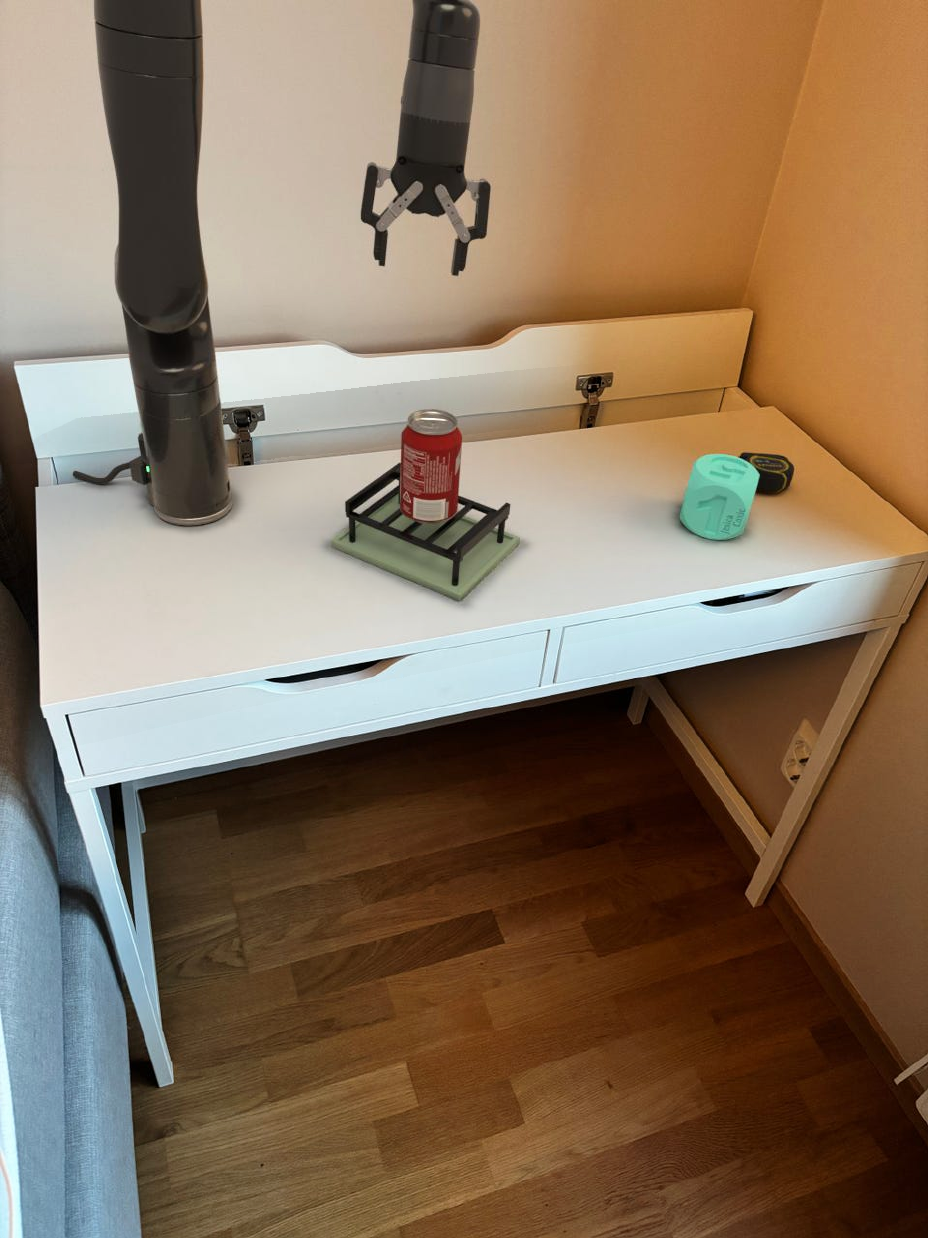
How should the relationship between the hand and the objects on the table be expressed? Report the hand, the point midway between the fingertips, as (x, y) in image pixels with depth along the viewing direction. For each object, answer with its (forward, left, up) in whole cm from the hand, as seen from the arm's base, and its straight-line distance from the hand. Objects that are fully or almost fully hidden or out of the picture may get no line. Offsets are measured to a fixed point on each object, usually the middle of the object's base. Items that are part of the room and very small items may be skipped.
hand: (418, 269), depth 109 cm
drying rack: (+11, -13, -27) cm, 32 cm away
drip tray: (+11, -13, -27) cm, 32 cm away
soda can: (+11, -13, -23) cm, 28 cm away
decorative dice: (+38, +13, -27) cm, 48 cm away
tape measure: (+40, +27, -27) cm, 55 cm away
